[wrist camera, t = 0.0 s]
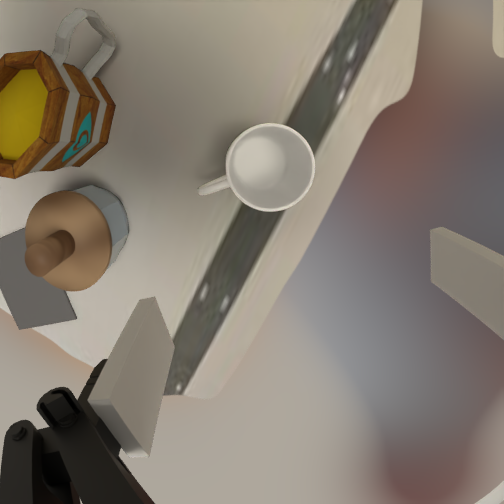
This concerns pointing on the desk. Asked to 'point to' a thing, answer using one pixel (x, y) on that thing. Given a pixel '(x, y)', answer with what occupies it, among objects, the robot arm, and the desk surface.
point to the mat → (29, 288)
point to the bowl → (109, 215)
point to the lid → (67, 241)
